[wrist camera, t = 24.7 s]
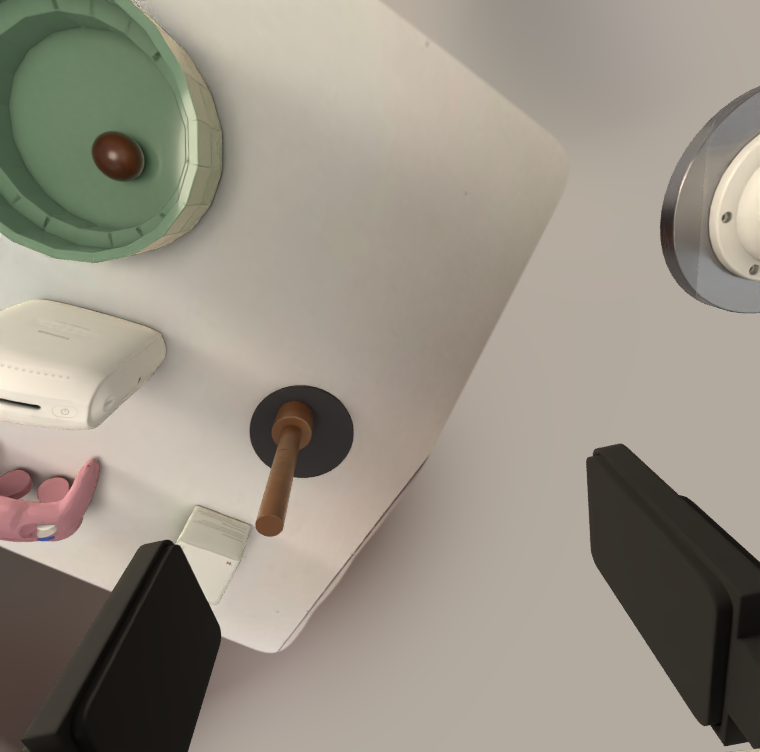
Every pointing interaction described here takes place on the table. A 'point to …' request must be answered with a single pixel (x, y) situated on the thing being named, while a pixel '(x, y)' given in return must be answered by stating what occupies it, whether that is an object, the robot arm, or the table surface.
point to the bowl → (99, 130)
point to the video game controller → (45, 505)
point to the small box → (213, 549)
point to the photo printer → (70, 364)
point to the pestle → (284, 464)
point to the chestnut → (117, 156)
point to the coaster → (327, 435)
